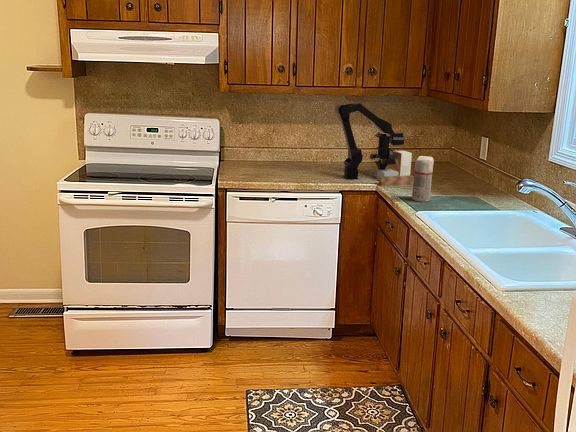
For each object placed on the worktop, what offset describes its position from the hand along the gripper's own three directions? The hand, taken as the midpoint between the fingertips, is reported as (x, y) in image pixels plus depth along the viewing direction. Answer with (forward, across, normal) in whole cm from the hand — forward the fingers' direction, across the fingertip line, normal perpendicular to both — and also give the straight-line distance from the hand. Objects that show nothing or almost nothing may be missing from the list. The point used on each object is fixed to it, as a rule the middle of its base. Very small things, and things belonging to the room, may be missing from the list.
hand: (381, 174), depth 329 cm
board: (+2, -17, 0) cm, 17 cm away
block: (+2, -6, 0) cm, 6 cm away
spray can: (+2, -50, +6) cm, 50 cm away
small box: (+2, +4, -14) cm, 15 cm away
